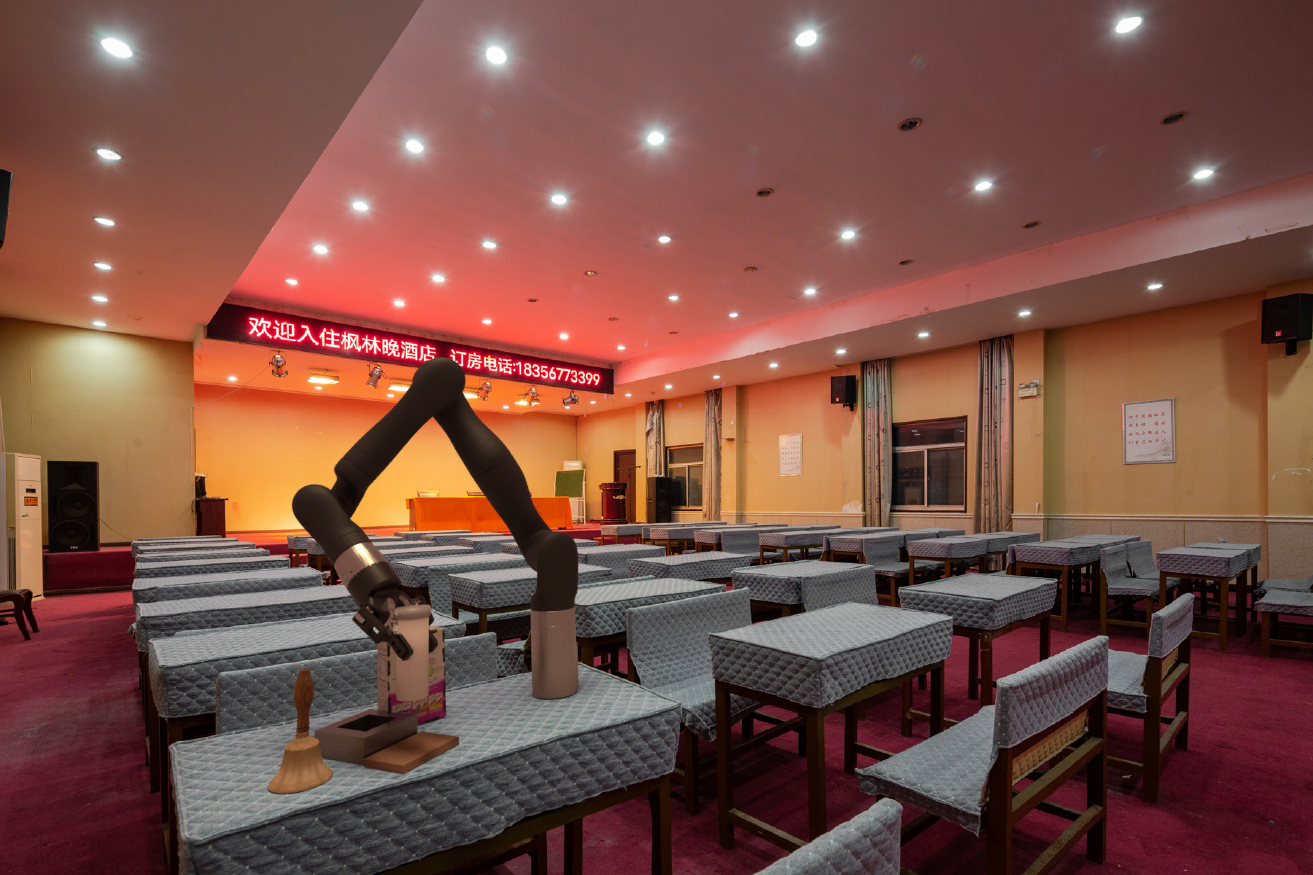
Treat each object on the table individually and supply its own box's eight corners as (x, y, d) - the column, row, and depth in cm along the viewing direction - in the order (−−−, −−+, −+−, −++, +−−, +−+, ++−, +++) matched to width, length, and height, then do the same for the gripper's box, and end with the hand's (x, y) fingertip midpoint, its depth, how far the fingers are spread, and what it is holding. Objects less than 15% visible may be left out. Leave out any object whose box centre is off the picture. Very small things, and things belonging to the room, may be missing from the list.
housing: (369, 732, 111) (370, 708, 112) (417, 739, 107) (417, 714, 107) (314, 756, 101) (314, 730, 102) (364, 765, 97) (364, 738, 97)
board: (421, 738, 107) (421, 731, 107) (458, 743, 104) (458, 736, 104) (363, 766, 96) (363, 758, 96) (403, 773, 93) (403, 765, 93)
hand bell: (341, 766, 97) (342, 660, 98) (319, 791, 88) (321, 674, 90) (284, 771, 96) (286, 663, 97) (256, 796, 87) (259, 678, 89)
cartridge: (412, 689, 105) (413, 604, 106) (437, 692, 102) (437, 605, 104) (386, 699, 100) (387, 609, 101) (412, 703, 97) (413, 611, 99)
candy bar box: (433, 711, 121) (433, 624, 123) (446, 717, 118) (446, 627, 120) (375, 729, 113) (375, 635, 115) (388, 735, 110) (388, 638, 111)
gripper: (343, 564, 100) (400, 646, 94) (411, 556, 113) (465, 628, 107) (319, 597, 101) (373, 680, 95) (389, 585, 114) (440, 658, 108)
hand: (421, 652), depth 101 cm, fingers closed on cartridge, 4 cm apart
